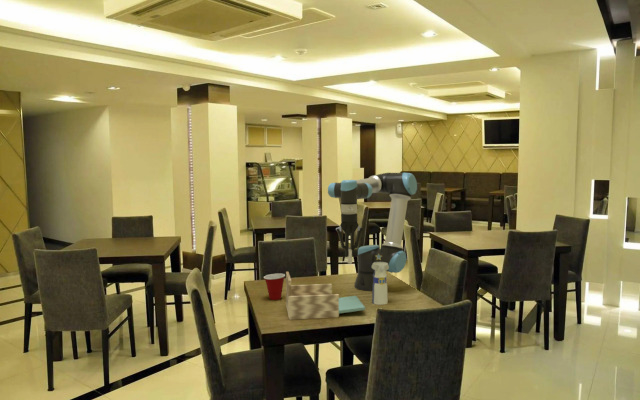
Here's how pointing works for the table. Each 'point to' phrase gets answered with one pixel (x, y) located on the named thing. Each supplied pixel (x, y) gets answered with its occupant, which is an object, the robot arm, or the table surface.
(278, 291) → the plastic cup
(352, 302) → the teal flat panel
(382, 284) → the blue-banded white tube
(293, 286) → the crate
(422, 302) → the table surface
